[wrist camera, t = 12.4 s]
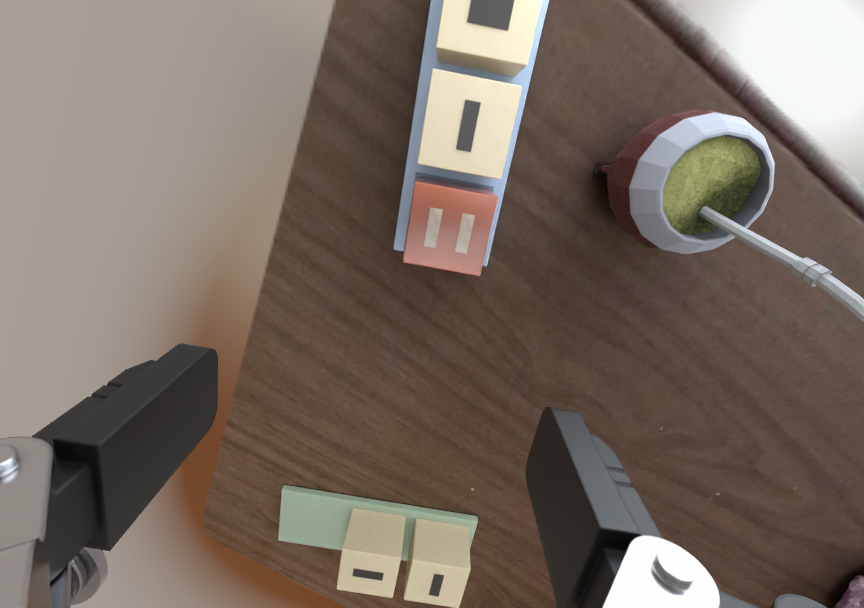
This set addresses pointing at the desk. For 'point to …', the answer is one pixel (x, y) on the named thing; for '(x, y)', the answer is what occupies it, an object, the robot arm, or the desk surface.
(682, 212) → the mate gourd
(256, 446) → the desk surface
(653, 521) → the robot arm
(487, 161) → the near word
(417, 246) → the orange cube with stripes
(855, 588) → the fossil
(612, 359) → the desk surface
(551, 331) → the desk surface
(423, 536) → the far word
